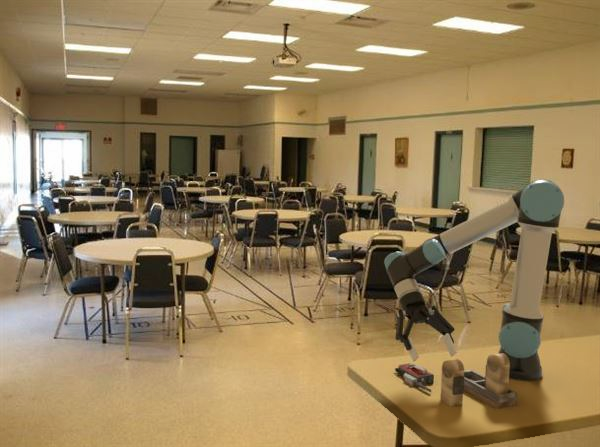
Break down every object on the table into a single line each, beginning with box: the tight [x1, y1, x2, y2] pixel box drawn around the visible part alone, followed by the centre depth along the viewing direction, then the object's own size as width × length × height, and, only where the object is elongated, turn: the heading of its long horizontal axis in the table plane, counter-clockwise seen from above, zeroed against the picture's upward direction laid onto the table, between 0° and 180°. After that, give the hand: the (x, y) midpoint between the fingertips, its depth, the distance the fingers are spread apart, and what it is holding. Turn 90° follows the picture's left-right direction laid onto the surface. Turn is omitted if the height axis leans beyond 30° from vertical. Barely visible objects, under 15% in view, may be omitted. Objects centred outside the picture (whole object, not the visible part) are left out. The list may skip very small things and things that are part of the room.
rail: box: [464, 353, 519, 409], centre depth 183 cm, size 8×20×14 cm, turn 23°
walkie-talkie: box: [394, 362, 435, 393], centre depth 193 cm, size 9×4×20 cm
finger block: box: [440, 358, 465, 407], centre depth 176 cm, size 4×6×12 cm
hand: (435, 356), depth 182 cm, fingers open, 13 cm apart
